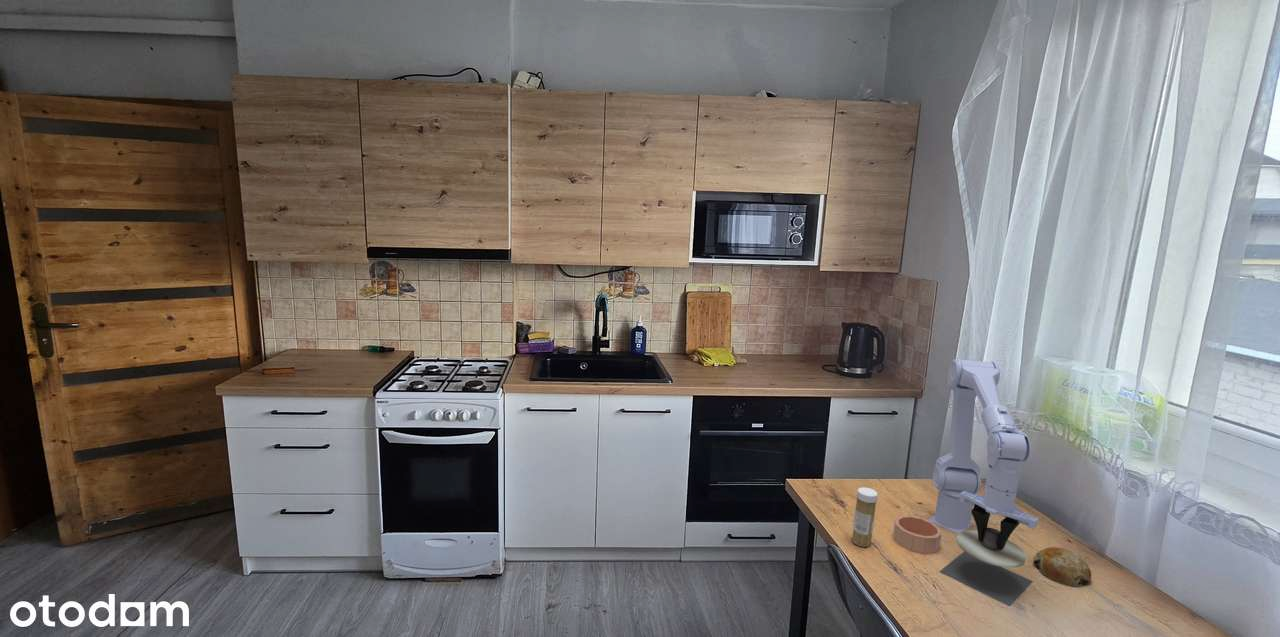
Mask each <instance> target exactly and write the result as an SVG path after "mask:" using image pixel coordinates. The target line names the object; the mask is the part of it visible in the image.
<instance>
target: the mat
mask: <svg viewBox="0 0 1280 637" xmlns="http://www.w3.org/2000/svg"><path fill="white" fill-rule="evenodd" d="M938 572H939V573H940V574H943V575H945V576H946V577H949V578H951V579H953V580H955V581H957V582H959V583H962V584H963V585H965V586H967V587H969V588H970V589H973V590H975V591H977V592H979V593H981V594H982V595H985V596H987V597H990V598H992V599H994V600H995V601H998V602H1000V603H1002V604H1004V605H1007V606H1008V607H1011V606H1012V605H1013V603H1015V601H1016V600H1017V599H1018V598H1019V597H1020V596H1021V595H1022V594H1023V593H1024V592H1025V591H1026V589H1027V588H1028V587H1029V586H1030V585H1031V584H1032V583H1033V582H1034V581H1033V580H1031V579H1030V578H1027V577H1025V576H1023V575H1020V574H1018V573H1015V572H1014V571H1011V570H1008V569H1007V568H1006V567H1000V566H995V565H992V564H988V563H985V562H983V561H980V560H978V559H976V558H974V557H972V556H970V555H969V554H967V553H966V552H964V551H963V552H961V553H960V554H959V555H958V556H957V557H955V558H954V559H953V560H952V561H950V562H949V563H948V564H947V565H946V566H944V567H943V568H941V570H939V571H938Z"/></svg>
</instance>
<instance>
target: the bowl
mask: <svg viewBox="0 0 1280 637" xmlns="http://www.w3.org/2000/svg"><path fill="white" fill-rule="evenodd" d="M892 538H893V539H892V540H893V541H894V542H895V543H897V545H899V546H900V547H902V548H904V549H906V550H908V551H911V552H913V553H918V554H923V555H927V554H929V555H930V554H935V553H937V552H938V551H940V547H941V540H942V531H941V528H940V527H939V525H937V524H934V523H933V522H930V521H928V519H926V518H923V517H921V516H914V515H910V514H909V515H899V516H898V517H896V518H894V524H893V532H892Z"/></svg>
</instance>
